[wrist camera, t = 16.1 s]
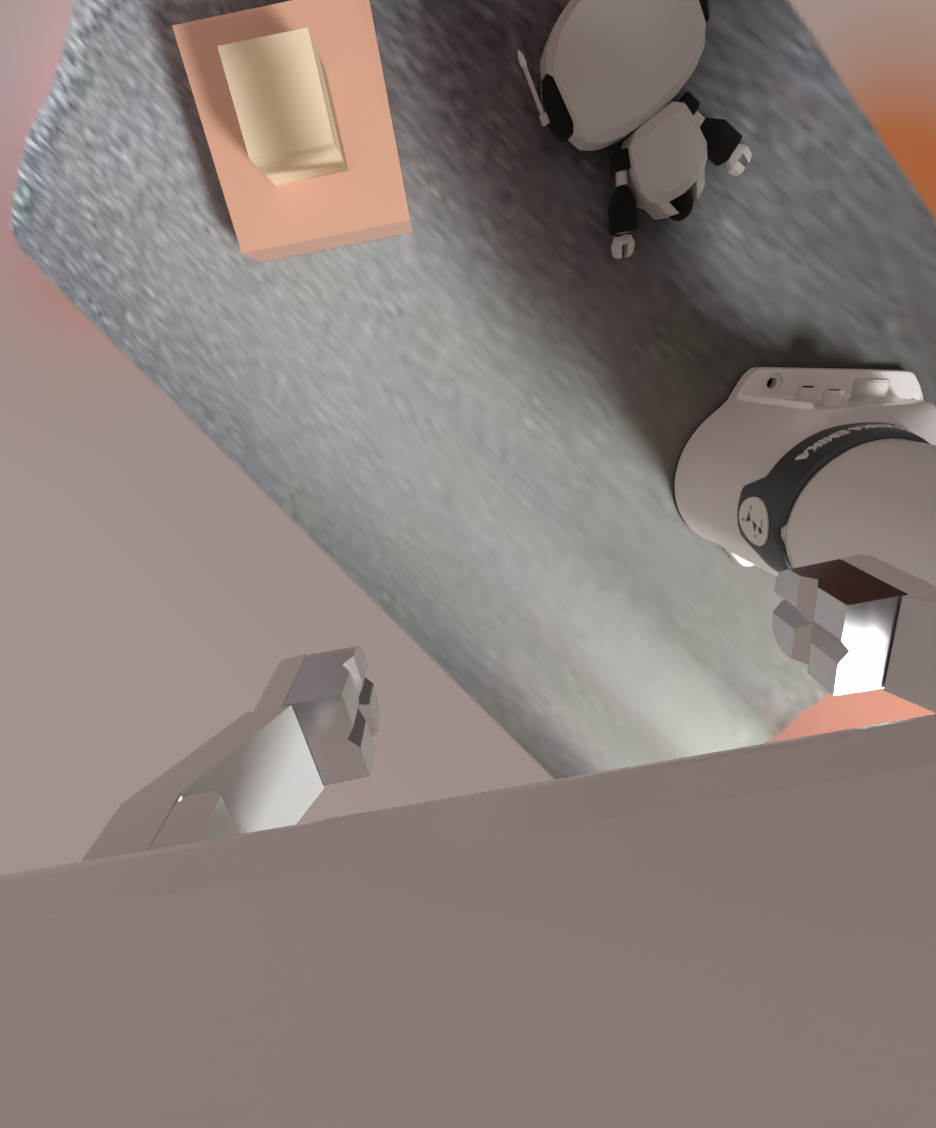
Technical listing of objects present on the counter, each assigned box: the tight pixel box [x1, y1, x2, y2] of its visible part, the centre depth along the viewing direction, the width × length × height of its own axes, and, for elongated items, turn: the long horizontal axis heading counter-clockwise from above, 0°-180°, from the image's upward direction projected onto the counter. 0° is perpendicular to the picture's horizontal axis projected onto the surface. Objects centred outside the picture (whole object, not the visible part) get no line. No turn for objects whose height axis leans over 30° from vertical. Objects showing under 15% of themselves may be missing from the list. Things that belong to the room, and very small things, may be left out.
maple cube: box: [217, 27, 348, 185], centre depth 30 cm, size 5×5×5 cm
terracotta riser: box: [172, 0, 413, 262], centre depth 34 cm, size 12×12×4 cm
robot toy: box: [518, 0, 752, 259], centre depth 35 cm, size 12×4×15 cm
